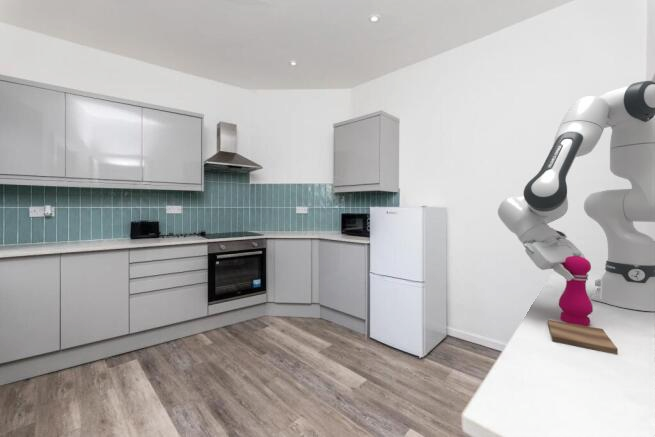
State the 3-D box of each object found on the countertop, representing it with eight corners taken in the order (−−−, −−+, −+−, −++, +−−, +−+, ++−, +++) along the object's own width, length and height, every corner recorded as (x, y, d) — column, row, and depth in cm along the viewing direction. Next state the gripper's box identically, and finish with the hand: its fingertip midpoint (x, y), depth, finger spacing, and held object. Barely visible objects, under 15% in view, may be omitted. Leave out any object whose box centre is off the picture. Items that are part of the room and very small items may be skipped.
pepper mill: (599, 328, 76) (601, 252, 75) (568, 325, 77) (570, 251, 77) (581, 318, 83) (583, 249, 82) (552, 316, 84) (554, 248, 84)
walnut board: (547, 323, 78) (547, 319, 78) (602, 333, 72) (602, 328, 72) (552, 341, 67) (552, 336, 67) (617, 354, 61) (617, 349, 61)
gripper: (528, 234, 81) (569, 275, 73) (566, 232, 90) (606, 268, 82) (512, 247, 85) (548, 288, 77) (549, 245, 94) (586, 281, 86)
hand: (578, 278), depth 79 cm, fingers open, 6 cm apart
